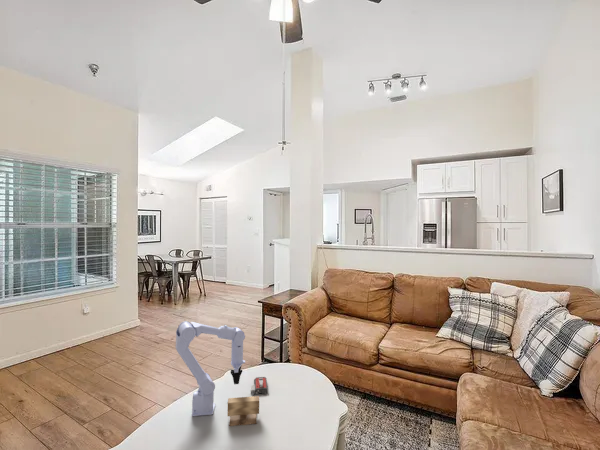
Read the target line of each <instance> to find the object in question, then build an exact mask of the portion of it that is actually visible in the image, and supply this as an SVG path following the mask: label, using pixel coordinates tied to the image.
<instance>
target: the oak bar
mask: <svg viewBox="0 0 600 450" xmlns="http://www.w3.org/2000/svg"><path fill="white" fill-rule="evenodd" d="M249 414H256V415H259V414H260V395H256V396H255V395H254V396H252V395H251V396H242V397H228V398H227V417H230V416H237V415H249Z"/></svg>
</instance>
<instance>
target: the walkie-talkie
mask: <svg viewBox="0 0 600 450" xmlns="http://www.w3.org/2000/svg"><path fill="white" fill-rule="evenodd" d="M268 390H269V389H268V381H267V377H266V376H256V377H255V378H254V379H253V384H252V385H251V386H250V394H251V397H252V396H255V395H260V394H259V393H262V394H263V395H265V394H267V393H268ZM254 393H255V394H254Z"/></svg>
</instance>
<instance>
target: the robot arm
mask: <svg viewBox="0 0 600 450" xmlns="http://www.w3.org/2000/svg"><path fill="white" fill-rule="evenodd" d="M201 334H204V335H205V334H206V335H214V336H216V337H217V338H218V339H223V340H228V341H231V350H230V351H231V353H230V354H231V355H230V356H231V358H230V359H231V361H230V365H231V367H232V368H233V369H230V375H231V376H232V380H233V381H232V382H233V384H234V385H239V384H240V381H241V380H240V379H241V376H242V373H243V369H242V366H243V364H246V360H244V341H245V339H246V335H245V332H244V331H243V330H242V329H241V328H239V327H237V326H234V327H231V326H228V325H226V324H224V325H220V326H219V327H218V326H217V327H216V326H212V325H209V324H208V325H207V324H203V323H198V322H196V321H186V320H185V321H181V322H180V323H179V325H178V326H177V328H176V330H175V351H176V352H177V354H178V355H179V356H180V357H181V360H182V361H183V362H184V363H185V365H186V367H187V368H188V370H189V371H190V373H191V374H192V376H193V377H194V378H195V380H196V384H197V385H198V390H197V391H194V392H193V395H192V400H191V402H192V404H191V405H192V406H191V407H192V408H191V416H192V417H198V416H211V415H213V414H214V412H215V406H216V403H215V402H214V396H215V395H214V394H215V393H214V392H215V389H216V384H215V383H214V381H213V379H212V377H211V375H210V374H209V373H207V372H205V370H204V369H203V367H202V365H200V363H199V361H198V360H197V359H196V357H195V355H194V354H193V352H192V351H191V349H190V347H189V346H190V344H191V342H192V341H193V340H194V339H195V337H197V338H198V337H199V336H200V335H201Z"/></svg>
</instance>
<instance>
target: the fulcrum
mask: <svg viewBox="0 0 600 450" xmlns="http://www.w3.org/2000/svg"><path fill="white" fill-rule="evenodd" d="M257 418H258V417H257V414H249V415H237V416H229V422H228V426H229V427H235V426H236V427H238V426H247V425H249V426H250V425H256V424H258V423H257Z"/></svg>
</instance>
